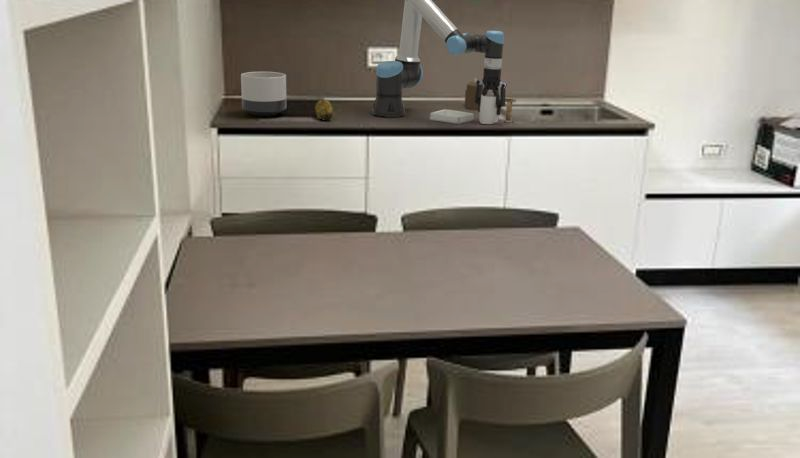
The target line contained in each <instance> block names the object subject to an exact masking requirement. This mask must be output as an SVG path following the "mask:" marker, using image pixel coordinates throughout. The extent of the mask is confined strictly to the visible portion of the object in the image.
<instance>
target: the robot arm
mask: <svg viewBox="0 0 800 458" xmlns="http://www.w3.org/2000/svg"><path fill="white" fill-rule="evenodd" d="M403 1H404V5H403V15H402V22H401V23H402V25H401V34H400V41H399V50H398V54H397V55H396V56H395V58H394V60H388V61H382V62H379V63H378V64H377V66H376V72H375V74H376V75H375V76H376V80H375V81H376V82H375V83H376V85H375V86H376V88H375V100H374V102H373V104H372V105H373V106H372V108H371V115H372V114H373V115H372V116H374V115H378V116H377V117H379V116H387V117H386V118H401V117H400V116H402V117H404V115H405V116H406V109H405V105H404V102H403V97H402V96H403V90H405V89H411V88H413V87H416V86H418V85H419V84H420V83H421V81H422V80H423V77H424V71H423V68H422V65H421V59H420V58H419V56H418V55H419V54H418V53H419V46H420V38H421V27H422V21H423V19H424V21H426V23H427V24H428V25H429V26H430V27H431V28H432V29H433V31H434V32H435V33H436V34H437V35H438V36H439V37H440V38H441V39H442V40H443V41H444V43H446V44H445V47H446V50H447V51H448V53H450V54H451V55H463V54H468V53H480V54H484V60H483V62H484V64H483V65H484V66H483V67H484V68H483V72H482V73H483V74H482V75H483V78H482V79H479V80H476V83H477V89H476V96H475V103H477V104H478V110H477V112H478V113H480V107H481V97H480V95H481V89H482V84H483V92H482V95H483V96H485V95H486V94H488V92H489V91H490V90H491V91H492V93H493V95H494V97H496V107H495V112H494V124H495V123H498V122H499V116H500V115H501V111H502V108H503V107H505V106H506V101H505V98H506V90H507V89H506V88H507V83H505V82H502V81H501V77H502V69H501V68H502V66H503V65H502V64H503V53H504V52H503V51H504V50H503V49H504V44H505V42H504V40H505V39H504V38H505V37H504V36H505V35H504V32H503V31H500V30H487V31H486V34H475V33H471V32H470V33H466V32H465V33H462V32H461V31H460V30H459V28H457V27H456V26H455V24H454V23H453V22H452V21H451V19H450V18H449V17H447V16H446V15H445V13H444V12H443V11H442V10H441V9H440V8H439V7H438V5H437V4H436V3H435V2H434V1H433V0H403ZM499 87H500V90H499ZM499 91H500V92H499ZM478 117H479V118H478V121H480V114H479V116H478Z"/></svg>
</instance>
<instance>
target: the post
mask: <svg viewBox="0 0 800 458" xmlns="http://www.w3.org/2000/svg"><path fill="white" fill-rule="evenodd" d="M505 103H506V107H505V108H506V110H505V111H506V112H505V118H504V119H503V122H504V121H513V122H514V120H513V119H512V112H513V111H512V110H513V103H517V99H516V98H512V97H505Z"/></svg>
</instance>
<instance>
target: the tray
mask: <svg viewBox="0 0 800 458" xmlns="http://www.w3.org/2000/svg"><path fill="white" fill-rule="evenodd" d="M474 117H475V113H473V112H466V111H460V110H453V109H445V108H444V109H440V110H438V111H432V112H430V113H429V120H430V121H435V122H436V121H437V122H442V123H447V124H455V125H462V124H465V123H469V122H471V121H474V120H475V119H474Z"/></svg>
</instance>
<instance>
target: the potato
mask: <svg viewBox="0 0 800 458" xmlns="http://www.w3.org/2000/svg"><path fill="white" fill-rule="evenodd" d="M314 108H315V110H314V111H315V113H316V118H318V119H319V120H320V119H324V120H323V121H325V120H328V121H329V120H331V119H332V118H333V115H334V111H333V110H334V108H333V105H332V104H331V102H330V101H329V100H328V99H319V100H318V101H317V102H316V103H315V107H314Z"/></svg>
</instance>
